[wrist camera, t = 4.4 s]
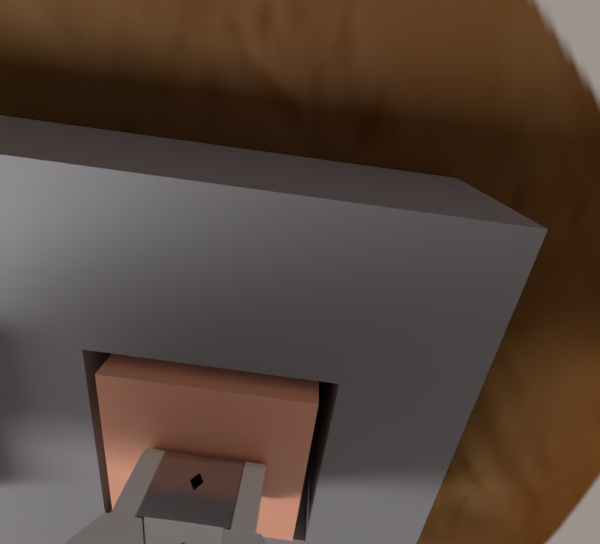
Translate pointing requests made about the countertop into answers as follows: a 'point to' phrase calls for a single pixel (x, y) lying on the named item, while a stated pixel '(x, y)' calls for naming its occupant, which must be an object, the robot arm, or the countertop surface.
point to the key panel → (245, 312)
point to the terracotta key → (210, 424)
